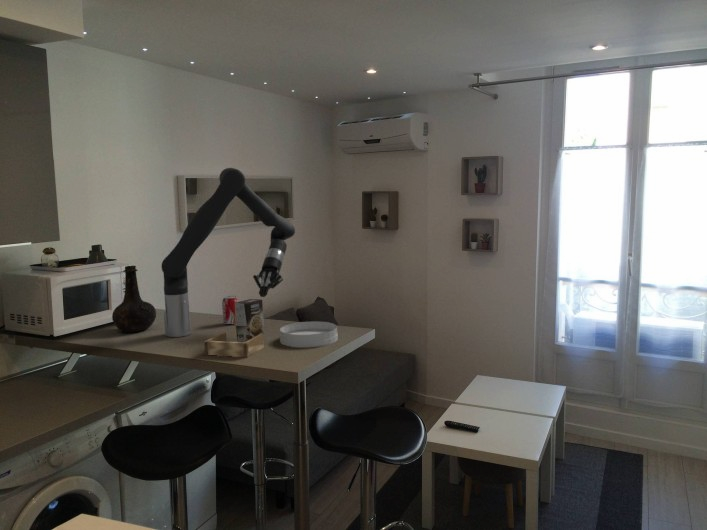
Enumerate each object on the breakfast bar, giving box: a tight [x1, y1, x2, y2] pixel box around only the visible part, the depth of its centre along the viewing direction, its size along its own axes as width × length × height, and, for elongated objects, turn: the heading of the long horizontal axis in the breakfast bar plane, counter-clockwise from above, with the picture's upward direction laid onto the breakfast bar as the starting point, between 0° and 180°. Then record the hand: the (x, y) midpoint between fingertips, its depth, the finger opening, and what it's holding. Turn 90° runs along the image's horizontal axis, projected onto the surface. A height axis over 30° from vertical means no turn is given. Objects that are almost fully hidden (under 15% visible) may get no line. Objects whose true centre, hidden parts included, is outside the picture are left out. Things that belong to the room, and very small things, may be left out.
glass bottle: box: [111, 265, 157, 333], centre depth 239 cm, size 18×18×28 cm
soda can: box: [221, 295, 239, 325], centre depth 246 cm, size 7×7×12 cm
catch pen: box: [203, 332, 265, 358], centre depth 200 cm, size 16×13×5 cm
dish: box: [279, 321, 339, 348], centre depth 213 cm, size 22×22×5 cm
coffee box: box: [235, 298, 265, 342], centre depth 211 cm, size 9×6×16 cm
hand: (262, 295), depth 222 cm, fingers closed
